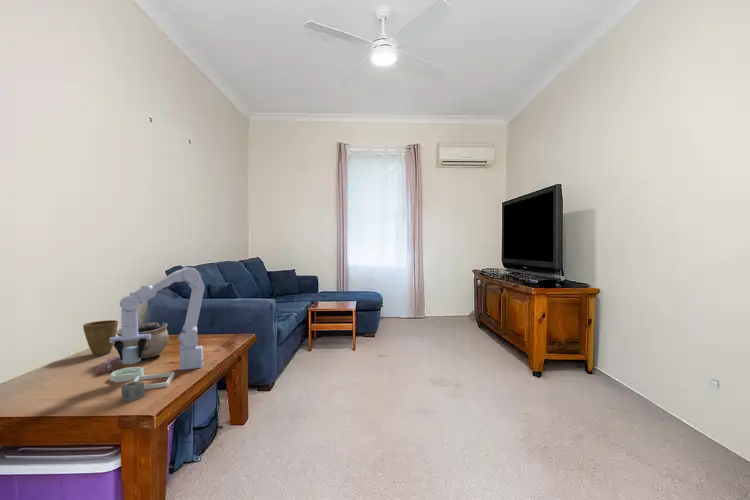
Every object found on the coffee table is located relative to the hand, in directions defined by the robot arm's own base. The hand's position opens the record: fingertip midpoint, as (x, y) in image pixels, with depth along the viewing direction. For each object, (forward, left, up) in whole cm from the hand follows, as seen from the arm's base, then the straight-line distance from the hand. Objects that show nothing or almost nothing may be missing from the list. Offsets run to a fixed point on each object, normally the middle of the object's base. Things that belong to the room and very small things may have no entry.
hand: (131, 358), depth 166 cm
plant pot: (+27, -51, -9) cm, 58 cm away
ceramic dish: (+3, -3, -8) cm, 9 cm away
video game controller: (+13, -16, -9) cm, 23 cm away
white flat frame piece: (-9, +9, -8) cm, 16 cm away
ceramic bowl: (+4, -34, -9) cm, 35 cm away
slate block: (0, 0, -2) cm, 2 cm away
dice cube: (-7, +24, -9) cm, 27 cm away
